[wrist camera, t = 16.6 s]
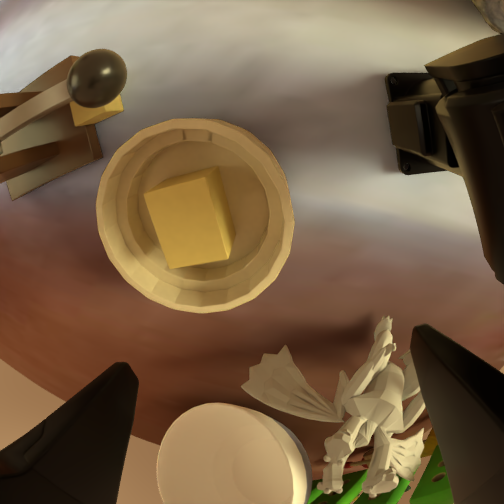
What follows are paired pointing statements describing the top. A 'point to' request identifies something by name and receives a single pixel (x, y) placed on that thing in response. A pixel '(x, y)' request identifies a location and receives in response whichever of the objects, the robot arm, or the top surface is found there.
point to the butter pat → (192, 218)
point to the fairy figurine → (353, 411)
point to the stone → (492, 13)
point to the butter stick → (95, 112)
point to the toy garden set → (423, 499)
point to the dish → (239, 200)
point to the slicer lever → (72, 90)
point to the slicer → (44, 139)
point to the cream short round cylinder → (231, 459)
